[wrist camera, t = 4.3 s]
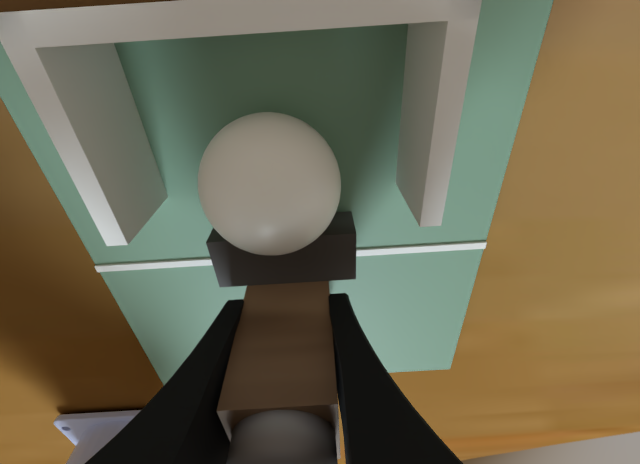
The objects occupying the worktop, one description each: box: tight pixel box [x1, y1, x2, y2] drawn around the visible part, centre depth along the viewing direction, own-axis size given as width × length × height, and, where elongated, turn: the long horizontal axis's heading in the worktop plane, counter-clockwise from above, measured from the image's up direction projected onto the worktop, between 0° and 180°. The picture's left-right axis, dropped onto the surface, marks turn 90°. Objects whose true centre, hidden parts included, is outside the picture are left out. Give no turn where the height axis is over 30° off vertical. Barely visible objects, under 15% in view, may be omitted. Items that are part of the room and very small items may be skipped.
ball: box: [198, 112, 341, 255], centre depth 9 cm, size 4×4×4 cm
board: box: [0, 0, 553, 385], centre depth 13 cm, size 17×16×1 cm
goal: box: [0, 0, 482, 246], centre depth 9 cm, size 5×9×3 cm, turn 93°
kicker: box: [206, 211, 356, 464], centre depth 10 cm, size 5×5×7 cm
